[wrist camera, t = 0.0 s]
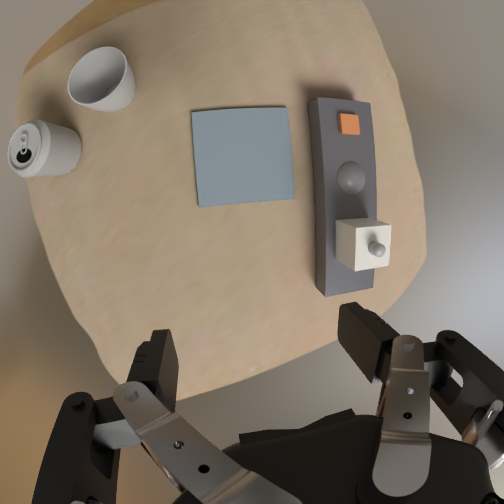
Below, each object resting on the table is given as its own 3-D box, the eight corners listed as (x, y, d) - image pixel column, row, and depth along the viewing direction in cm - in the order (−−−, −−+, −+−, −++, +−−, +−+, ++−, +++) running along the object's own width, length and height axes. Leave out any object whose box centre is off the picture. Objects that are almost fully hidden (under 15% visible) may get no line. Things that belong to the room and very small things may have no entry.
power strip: (307, 103, 37) (319, 95, 32) (357, 107, 38) (372, 102, 33) (315, 287, 45) (327, 298, 41) (361, 279, 46) (375, 289, 42)
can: (45, 176, 33) (1, 180, 22) (49, 131, 31) (7, 122, 20) (81, 174, 34) (40, 176, 23) (86, 127, 32) (47, 113, 21)
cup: (154, 81, 32) (139, 54, 23) (127, 127, 34) (103, 113, 24) (112, 66, 30) (90, 41, 21) (87, 111, 32) (57, 96, 22)
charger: (330, 218, 40) (362, 230, 31) (362, 215, 41) (398, 227, 32) (330, 255, 42) (360, 275, 33) (361, 250, 42) (395, 268, 33)
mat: (191, 113, 35) (191, 112, 34) (286, 108, 37) (287, 107, 36) (199, 207, 39) (199, 207, 38) (293, 198, 41) (294, 198, 40)
